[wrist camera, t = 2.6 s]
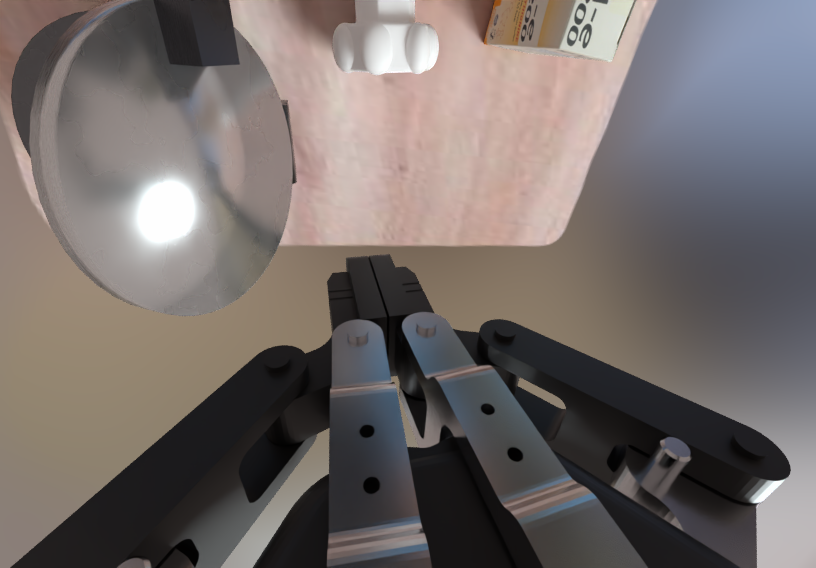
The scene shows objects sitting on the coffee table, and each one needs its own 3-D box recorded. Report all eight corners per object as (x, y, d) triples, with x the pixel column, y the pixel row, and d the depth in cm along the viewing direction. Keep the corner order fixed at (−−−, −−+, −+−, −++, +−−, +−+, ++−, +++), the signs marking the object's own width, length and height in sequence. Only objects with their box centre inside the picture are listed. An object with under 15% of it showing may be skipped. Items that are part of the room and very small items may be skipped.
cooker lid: (-298, -458, 7) (-194, -496, 6) (243, -127, 19) (293, -129, 18) (124, 372, 18) (175, 386, 17) (292, 238, 30) (325, 243, 29)
